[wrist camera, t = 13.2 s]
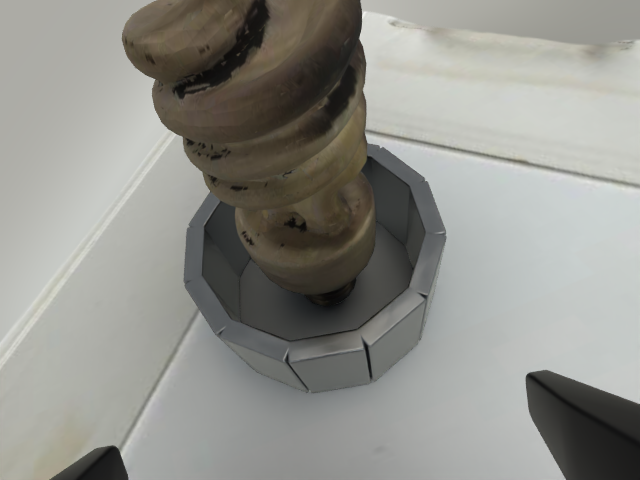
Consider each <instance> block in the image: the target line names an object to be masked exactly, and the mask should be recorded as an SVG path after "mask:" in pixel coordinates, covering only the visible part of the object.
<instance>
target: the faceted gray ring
mask: <svg viewBox="0 0 640 480" xmlns="http://www.w3.org/2000/svg"><path fill="white" fill-rule="evenodd" d="M361 172H362V173H363V174H364V175H365V177H366V179H367V180H368V182H369V183H370V185H371V187H372V190H373V194H374V203H375V209H376V220H377V221H378V222H379V223H380V224H381V225H382V226H383V227H384V228H386V229H387V230H388V231H389V232H390V233H391V234H392V235H393V236H395V237H396V238H397V239H398V240H399V241H400V242H401V243H402V244H404V245H405V246H406V249H407V252H408V256H409V259H410V262H411V266H412V269H413V273H412V276H411V279H410V282H409V285H408V288H407V289H405V290H404V291H403V292H402V293H401V294H399V295H398V296H397V297H396V298H394V299H393V300H392V301H391V302H390V303H388V304H387V305H386V306H385V307H383V308H382V309H381V310H380V311H379V312H377V313H376V314H375V315H374V316H373V317H371V318H370V319H369V320H368V321H366V322H365V323H364V324H363V325H362V326H360V327H359V328H358V329H354V330H349V331H343V332H337V333H332V334H326V335H321V336H315V337H309V338H304V339H298V340H293V341H289V340H287V339H284V338H281V337H279V336H276V335H273V334H271V333H268V332H265V331H263V330H260V329H257V328H254V327H252V326H249V325H246V324H244V323H242V322H241V320H240V282H239V278H240V276H241V274H242V272H243V270H244V269H245V267H246V265H247V263H248V261H249V259H250V258H251V256H250V254H249V253H248V251H247V250H246V248H245V246H244V245H243V243H242V241H241V240H240V237H239V235H238V232H237V228H236V223H235V209H236V207H234V206H230V205H228V204H226V203H224V202H222V201H220V200H219V199H218V198H217V197H216V196H215V195H214V194H213V193H212V192H211V191H210V193H209V195H208V196H207V198H206V199H205V201H204V202H203V204H202V205H201V207H200V208H199V210H198V211H197V213H196V214H195V216H194V217H193V219H192V220H191V222H190V223H189V226H190V227H189V228H187V236H186V252H185V268H184V283H185V288H186V289H187V291H188V292H189V294H190V296H191V297H192V299H193V300H194V302H195V303H196V305H197V307H198V308H199V310H200V311H201V313H202V314H203V316H204V317H205V319H206V321H207V322H208V324H209V325H210V327H211V328H212V330H213V332H214V333H215V335H217V336H218V337H219V338H220V339H221V340H222V341H223V342H224V343H225V344H226V345H227V346H228V347H230V348H231V349H232V350H233V351H234V352H235V353H236V354H237V355H238V356H239V357H240V358H241V359H243V360H244V361H245V362H246V363H247V364H248V365H249V366H250V367H251V368H252V369H254V370H255V371H256V372H257V373H260V374H262V375H265V376H267V377H270V378H272V379H274V380H277V381H279V382H282V383H284V384H287V385H289V386H291V387H294V388H296V389H299V390H301V391H304V392H306V393H308V392H309V390H310V391H311V393H318V392H324V391H330V390H335V389H341V388H347V387H353V386H359V385H365V384H369V383H371V380H370V378H371V379H372V380H373V381H376V380H377V379H378V378H379V377H381V376H382V375H383V374H384V373H385V372H386V371H387V370H389V369H390V368H391V367H392V366H393V365H394V364H396V363H397V362H398V361H399V360H400V359H401V358H402V357H404V356H405V355H406V354H407V353H408V352H409V351H410V350H412V349H413V348H414V347H415V346H416V345H417V344H418V340H419V341H420V340H421V336H422V333H423V329H424V326H425V323H426V319H427V316H428V312H429V309H430V305H431V302H432V298H433V295H434V292H435V287H436V283H437V278H438V274H439V269H440V264H441V260H442V255H443V251H444V246H445V242H446V236H445V235H446V230H445V227H444V225H443V222H442V219H441V217H440V214H439V211H438V208H437V206H436V203H435V200H434V198H433V195H432V192H431V189H430V187H429V184H428V182H427V181H425V178H424V177H423V176H421V175H420V174H419V173H417V172H416V171H415V170H413V169H412V168H411V167H409V166H408V165H406V164H405V163H404V162H402V161H401V160H400V159H398V158H397V157H396V156H394V155H393V154H392V153H390V152H389V151H388V150H386V149H385V148H384V147H382V148H380V146H379V145H374V144H368V143H367V160H366V163H365V164H364V166H363V168H362V169H361Z"/></svg>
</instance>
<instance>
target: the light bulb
mask: <svg viewBox="0 0 640 480" xmlns="http://www.w3.org/2000/svg"><path fill="white" fill-rule="evenodd" d="M361 28H362V9H361V3H360V0H157V1H154V2H152V3H150V4H148V5H147V6H145V7H143V8H141V9H140V10H138V11H137V12H136V13H134V14H132V16H131V17H130V18H129V20H128V21H127V22H126V24H125V27H124V30H123V33H122V41H123V45H124V49H125V52H126V55H127V57H128V58H129V60H130V61H131V62H132V64H133V65H134V66H135V67H136V68H137V69H138V70H140V71H141V72H142V73H144V74H145V75H147V76H149V77H152V78H154V79H156V80H155V82H154V85H153V88H152V97H153V103H154V107H155V110H156V112H157V114H158V116H159V118H160V120H161V122H162V123H163V124H164V125H165V126H166V127H167V128H168V129H169V130H171V131H172V132H174V133H176V134H177V135H180V136H182V137H183V145H184V150H185V153H186V155H187V156H188V158H189V160H190V161H191V162H192V163H193V164H194V165H195V166H196V167H197V168H198V169H199V170H201V171H202V172H203V176H204V180H205V183H206V185H207V187H208V188H209V190H210V191H211V192H212V193H213V194H214V195H215V196H216V197H217V198H218V199H219V200H220V201H222V202H224V203H226V204H228V205H230V206H234V207H236V209H235V223H236V228H237V232H238V235H239V237H240V240H241V241H242V243H243V245H244V246H245V248H246V250H247V251H248V253H249V254H250V256H251V258H252V259H253V260H254V262H255V263H256V264H257V265H258V266H259V267H260V269H261V270H262V271H263V272H264V273H265V275H266V276H267V277H268V278H269V279H270V280H271V281H273V282H274V283H276V284H277V285H278V286H280V287H281V288H284V289H287V290H289V291H292V292H295V293H301V294H304V295H305V296H306V297H307V298H308V299H309V300H310V301H311V302H312V303H316V304H319V305H323V306H329V305H334V304H338V303H340V302H342V301H343V300H345V299H346V298H347V297H348V296H349V295H350V293H351V291H352V290H353V288H354V285H355V282H356V276H357V275H358V274H359V273H360V272H361V271H362V270H363V269H364V268H365V267H366V266H367V264H368V262H369V259H370V257H371V255H372V253H373V250H374V246H375V234H376V209H375V203H374V194H373V190H372V187H371V185H370V183H369V182H368V180H367V179H366V177H365V175H364V174H363V173H362V172H361V169H362V168H363V166H364V164H365V163H366V160H367V140H366V136H365V133H364V130H365V126H366V100H365V96H364V93H363V87H364V84H365V74H366V60H365V55H364V50H363V46H362V44H361V42H360V40H359V36H360V33H361Z"/></svg>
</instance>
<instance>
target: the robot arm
mask: <svg viewBox="0 0 640 480" xmlns="http://www.w3.org/2000/svg"><path fill="white" fill-rule="evenodd" d="M526 389H527V399H528V407H529V412H530V415H531V418H532V420H533V422H534V423H535V425H536V427H537V429H538V431H539V432H540V434H541V436H542V438H543V439H544V441H545V443H546V445H547V447H548V448H549V450H550V452H551V454H552V455H553V457H554V459H555V461H556V462H557V464H558V466H559V468H560V470H561V471H562V473H563V475H564V477H565V478H566V480H640V404H638V403H635V402H632V401H630V400H627V399H624V398H621V397H619V396H616V395H613V394H611V393H608V392H605V391H602V390H600V389H597V388H594V387H592V386H589V385H586V384H583V383H581V382H578V381H575V380H572V379H570V378H567V377H564V376H562V375H559V374H556V373H553V372H551V371H548V370H542V371H536V372H531V373H528V374H527V375H526ZM50 480H128V474H127V472H126V469H125V466H124V463H123V460H122V457H121V454H120V452H119V449H118V448H117V447H116V446H107V447H101V448H97V449H94V450H93V451H91V452H90V453H88V454H87V455H85V456H84V457H82V458H81V459H79V460H78V461H76V462H75V463H74V464H72V465H71V466H69V467H68V468H66V469H65V470H63V471H62V472H60V473H59V474H57V475H56V476H54V477H53V478H51V479H50Z"/></svg>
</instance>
